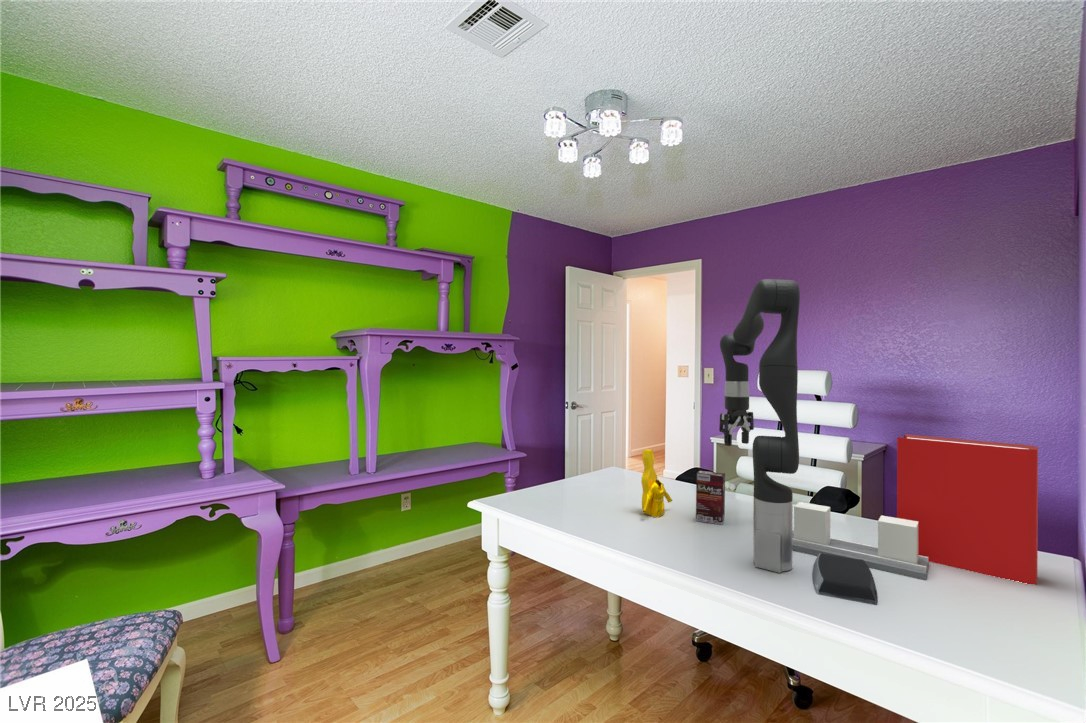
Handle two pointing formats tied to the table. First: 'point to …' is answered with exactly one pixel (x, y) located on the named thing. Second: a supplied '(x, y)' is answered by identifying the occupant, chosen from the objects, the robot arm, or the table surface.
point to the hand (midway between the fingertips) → (736, 444)
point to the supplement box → (710, 497)
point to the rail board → (890, 555)
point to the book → (972, 503)
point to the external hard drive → (844, 578)
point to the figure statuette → (652, 488)
